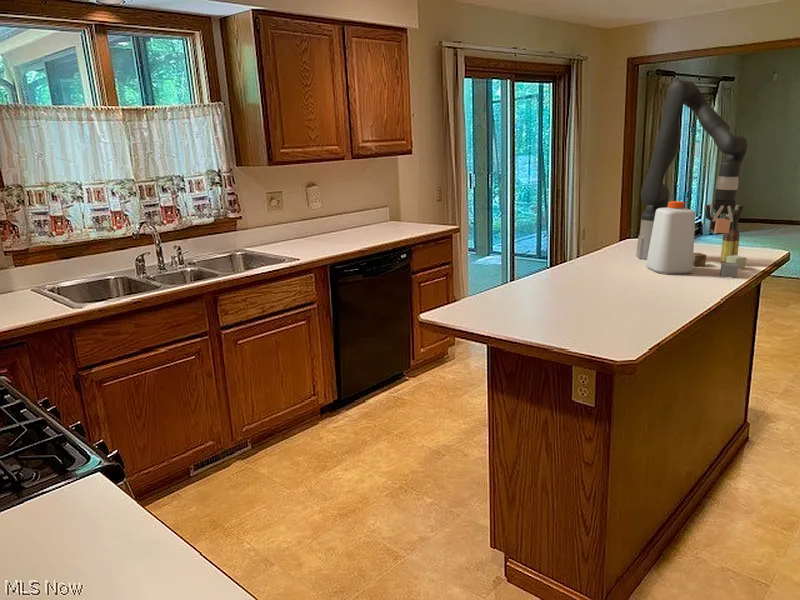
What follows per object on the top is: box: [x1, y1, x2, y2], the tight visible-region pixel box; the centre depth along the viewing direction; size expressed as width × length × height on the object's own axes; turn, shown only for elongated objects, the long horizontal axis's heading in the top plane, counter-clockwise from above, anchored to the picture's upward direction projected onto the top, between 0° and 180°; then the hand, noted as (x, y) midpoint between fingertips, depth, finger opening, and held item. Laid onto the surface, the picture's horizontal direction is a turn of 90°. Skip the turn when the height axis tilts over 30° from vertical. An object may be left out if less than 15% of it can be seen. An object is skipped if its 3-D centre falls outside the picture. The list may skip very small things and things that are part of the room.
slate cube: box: [719, 261, 739, 279], centre depth 231 cm, size 5×5×5 cm
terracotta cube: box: [710, 217, 731, 234], centre depth 237 cm, size 5×5×5 cm
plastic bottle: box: [645, 200, 696, 275], centre depth 238 cm, size 15×15×28 cm
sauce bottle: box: [720, 217, 740, 263], centre depth 249 cm, size 7×6×20 cm
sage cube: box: [726, 254, 747, 270], centre depth 244 cm, size 5×5×5 cm
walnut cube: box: [693, 252, 707, 268], centre depth 250 cm, size 5×5×5 cm
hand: (719, 230), depth 237 cm, fingers closed on terracotta cube, 5 cm apart
